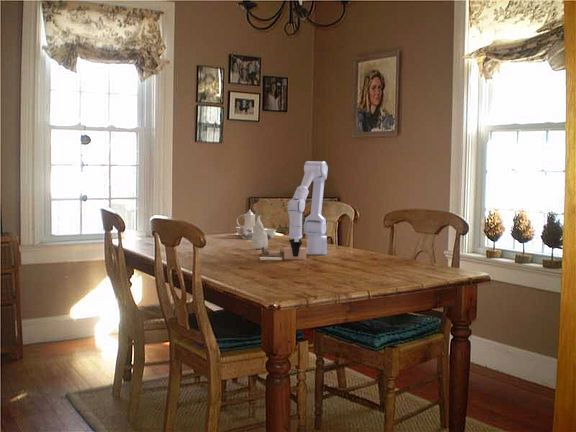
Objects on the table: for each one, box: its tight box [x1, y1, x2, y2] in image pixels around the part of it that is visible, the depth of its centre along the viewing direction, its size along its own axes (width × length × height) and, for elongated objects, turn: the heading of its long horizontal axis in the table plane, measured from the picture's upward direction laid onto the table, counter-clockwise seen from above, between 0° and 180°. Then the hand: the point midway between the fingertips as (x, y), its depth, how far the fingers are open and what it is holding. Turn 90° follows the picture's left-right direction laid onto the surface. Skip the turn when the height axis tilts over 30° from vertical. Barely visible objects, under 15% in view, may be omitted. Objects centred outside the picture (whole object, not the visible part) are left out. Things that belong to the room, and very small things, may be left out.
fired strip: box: [259, 256, 283, 261], centre depth 312 cm, size 10×4×1 cm, turn 90°
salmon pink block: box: [283, 246, 307, 261], centre depth 314 cm, size 10×4×5 cm, turn 91°
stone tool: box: [250, 219, 269, 250], centre depth 342 cm, size 9×3×15 cm, turn 111°
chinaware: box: [233, 209, 278, 240], centre depth 387 cm, size 28×17×17 cm, turn 66°
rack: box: [261, 247, 284, 258], centre depth 322 cm, size 12×9×3 cm
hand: (295, 255), depth 314 cm, fingers closed on salmon pink block, 4 cm apart
